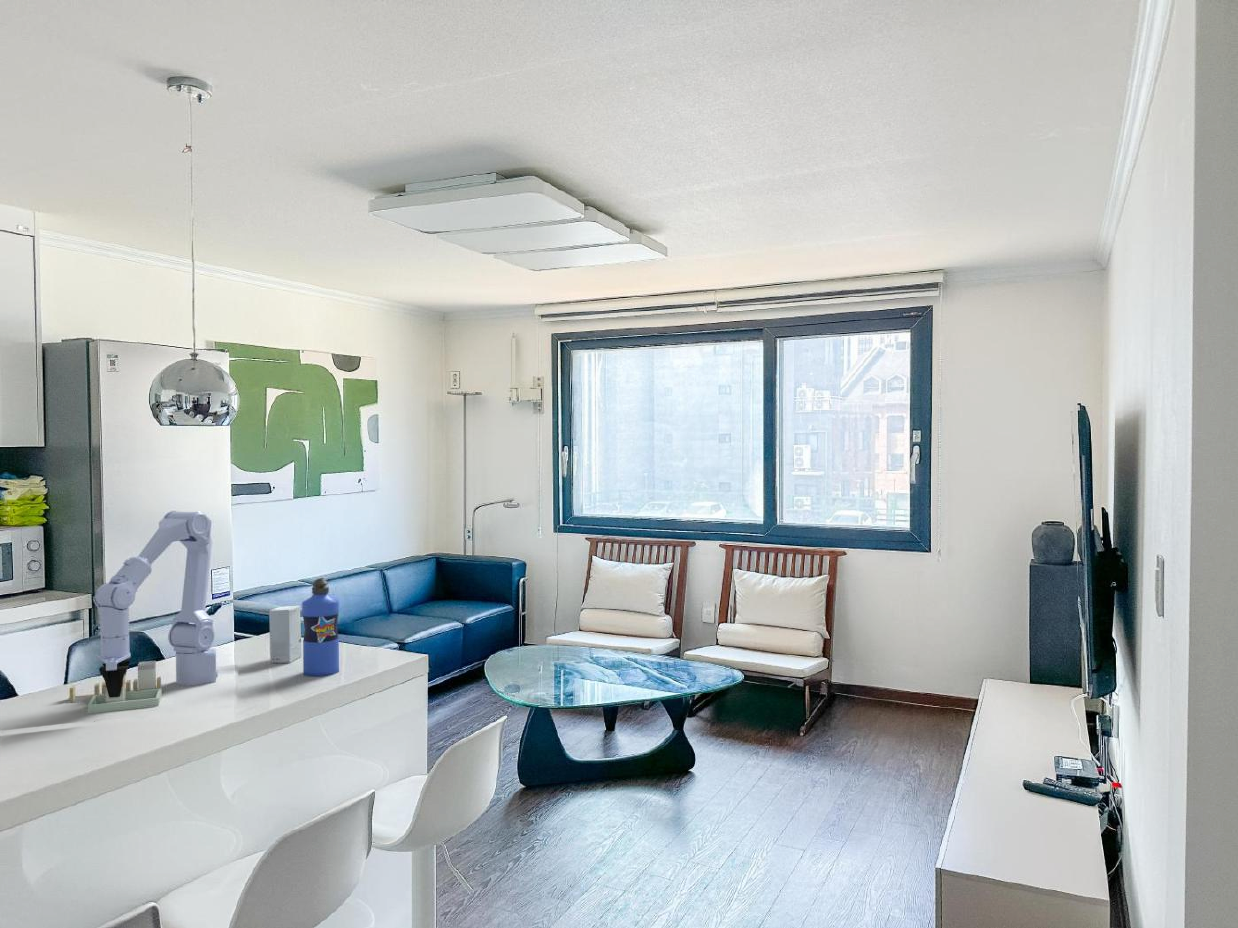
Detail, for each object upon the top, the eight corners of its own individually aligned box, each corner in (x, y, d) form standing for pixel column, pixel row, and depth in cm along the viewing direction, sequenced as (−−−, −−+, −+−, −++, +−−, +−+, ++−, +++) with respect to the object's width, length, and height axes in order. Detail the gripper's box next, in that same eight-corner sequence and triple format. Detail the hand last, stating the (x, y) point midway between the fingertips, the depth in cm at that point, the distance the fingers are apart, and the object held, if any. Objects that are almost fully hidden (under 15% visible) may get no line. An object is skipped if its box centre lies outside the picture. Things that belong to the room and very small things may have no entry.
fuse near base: (156, 689, 214) (155, 660, 214) (154, 692, 211) (154, 663, 210) (139, 690, 212) (139, 662, 212) (138, 694, 209) (137, 665, 209)
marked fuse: (125, 700, 203) (125, 670, 203) (123, 704, 200) (123, 674, 199) (107, 702, 201) (107, 672, 201) (105, 706, 198) (105, 675, 198)
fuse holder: (164, 691, 216) (164, 674, 216) (162, 697, 210) (162, 680, 210) (69, 700, 208) (69, 683, 208) (65, 707, 202) (65, 690, 202)
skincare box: (290, 663, 243) (289, 610, 243) (268, 663, 243) (268, 610, 243) (302, 656, 251) (301, 604, 251) (281, 656, 252) (281, 604, 251)
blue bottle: (344, 673, 232) (343, 579, 231) (308, 678, 227) (307, 582, 226) (333, 666, 240) (332, 575, 239) (298, 671, 234) (297, 578, 234)
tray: (161, 699, 208) (161, 688, 208) (158, 709, 200) (158, 698, 200) (93, 706, 203) (93, 695, 203) (87, 717, 194) (87, 705, 194)
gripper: (99, 631, 205) (100, 688, 206) (89, 643, 192) (90, 705, 192) (133, 628, 208) (134, 685, 208) (126, 640, 195) (127, 701, 195)
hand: (115, 694), depth 201 cm, fingers closed on marked fuse, 3 cm apart
